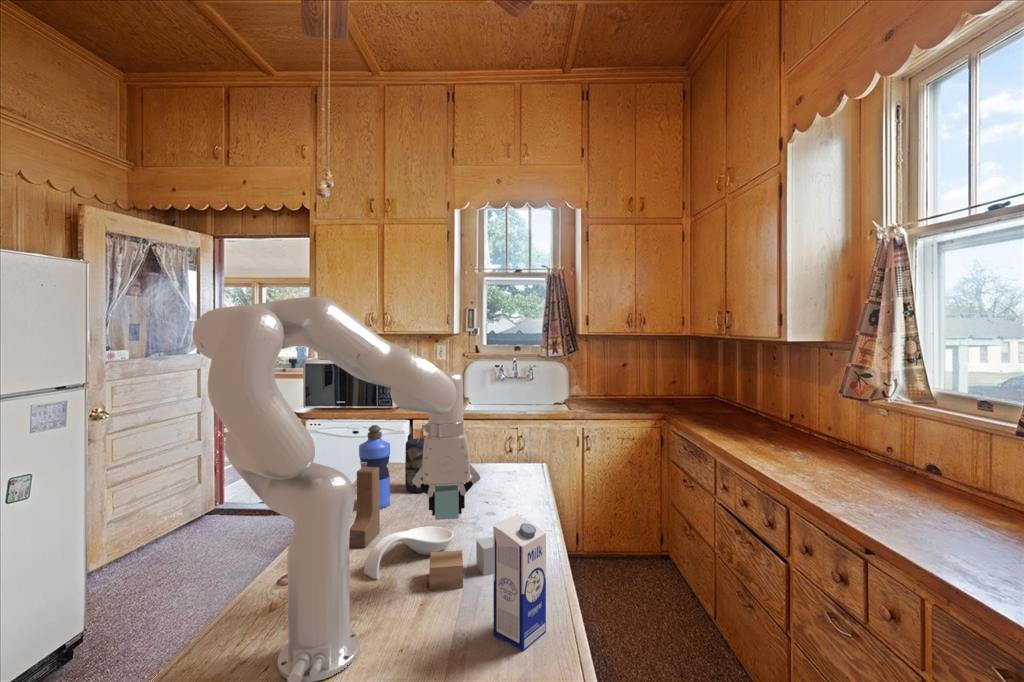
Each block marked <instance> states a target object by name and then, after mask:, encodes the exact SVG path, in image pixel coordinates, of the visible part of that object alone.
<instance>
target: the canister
mask: <svg viewBox="0 0 1024 682" xmlns="http://www.w3.org/2000/svg"><path fill="white" fill-rule="evenodd" d="M424 441H425V437H424V438H423V437H421V436H419V438H412V439H408V440H407V441H406V442H405V456H404V457H405V459H404V460H405V461H404V462H405V467H404V469H405V470H404V471H405V472H404V474H405V475H404V477H405V481H404V483H405V485H404V486H405V489H406V490H407V491H408V492H412V493H424V492H423V491H422V490H421V489H420V488H419V487H418V486H416V485H415V484H413V483H412V479H413V477H414V476H415V475H416V474H417V472H418V471H419V470H420V468H421V467H422V464H423V447H424ZM421 480H422V481H423V476H422V477H421ZM427 485H428V484H427ZM428 486H429V485H428Z"/></svg>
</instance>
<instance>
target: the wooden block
mask: <svg viewBox="0 0 1024 682" xmlns="http://www.w3.org/2000/svg"><path fill="white" fill-rule="evenodd" d="M355 515H356V516H355V518H354V521H353V524H352V525H351V526H350V534H349V548H358V549H361V548H362V549H364V548H366V547H368V545H370V543H371V542H372V541H373V540H374V539H375V538H376V537H378V535H379V534H380V526H381V525H380V510H379V467H363V468H361V467H360V469H358V470H357V471H356V513H355Z"/></svg>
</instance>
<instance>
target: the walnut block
mask: <svg viewBox="0 0 1024 682" xmlns="http://www.w3.org/2000/svg"><path fill="white" fill-rule="evenodd" d="M428 567H429V576H428V577H429V580H428V581H429V591H430V592H431V591H444V590H457V589H464V561H463V550H461V549H460V550H459V549H458V550H445V551H439V552H431V554H430V556H429V566H428Z"/></svg>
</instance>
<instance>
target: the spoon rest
mask: <svg viewBox="0 0 1024 682" xmlns="http://www.w3.org/2000/svg"><path fill="white" fill-rule="evenodd" d="M454 536H455V533H454V532H453V531H452V530H450V529H448V528H446V527H441V526H435V525H434V526H432V525H430V526H429V525H428V526H419V527H415V528H410V529H408V530H403V531H397V532H394V533H390V534H388V535H386V536H384V537H383V538H382V539H380V540H379V541H378V542H377V543H376V544H375V545H374V547H373V548H372V549H371V550H370V552H369V554H368V556H367V558H366V560H365V564H364V568H363V573H364V575H366V576H367V577H369V578H372V579H374V580H379V578H380V564H381V559H382V557H383V555H384V554H385V552H386V551H387V550H388V549H389V548H390V547H391V546H392V545H394V544H395V543H398V542H400V543H401V542H402V543H404V545H407V546H408V547H409V548H410V549H412V550H413V551H414V552H416V553H417V554H420V555H422V554H423V555H424V556H425V555H426V556H427V555H430V554H431V552H442V550H444V549H446V548H447V547H448V546H449V545H450V543H452V540H453V539H454V538H455V537H454Z"/></svg>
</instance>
